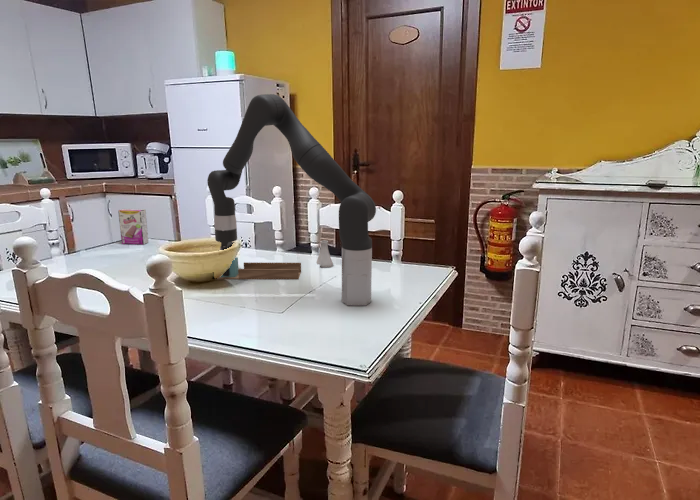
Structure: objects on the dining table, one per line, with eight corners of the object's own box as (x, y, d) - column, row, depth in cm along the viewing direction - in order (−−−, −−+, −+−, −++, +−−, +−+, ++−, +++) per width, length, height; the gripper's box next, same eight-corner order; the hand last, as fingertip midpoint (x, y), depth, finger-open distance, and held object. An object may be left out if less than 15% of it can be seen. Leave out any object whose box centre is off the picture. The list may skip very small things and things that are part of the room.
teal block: (235, 277, 170) (234, 260, 169) (213, 277, 170) (212, 260, 169) (238, 273, 175) (237, 257, 174) (216, 273, 175) (215, 257, 174)
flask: (334, 263, 194) (334, 239, 191) (332, 268, 187) (331, 243, 184) (317, 263, 195) (316, 239, 192) (313, 267, 188) (313, 242, 185)
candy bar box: (121, 244, 226) (117, 210, 222) (126, 242, 231) (123, 208, 227) (143, 245, 225) (140, 210, 221) (149, 242, 230) (145, 208, 226)
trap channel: (298, 282, 168) (298, 269, 167) (210, 282, 168) (209, 269, 167) (301, 274, 178) (301, 262, 177) (217, 274, 178) (216, 262, 177)
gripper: (220, 223, 176) (222, 268, 180) (209, 231, 162) (212, 279, 166) (240, 223, 176) (242, 268, 180) (231, 231, 162) (234, 279, 166)
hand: (228, 273), depth 173 cm, fingers closed on teal block, 5 cm apart
